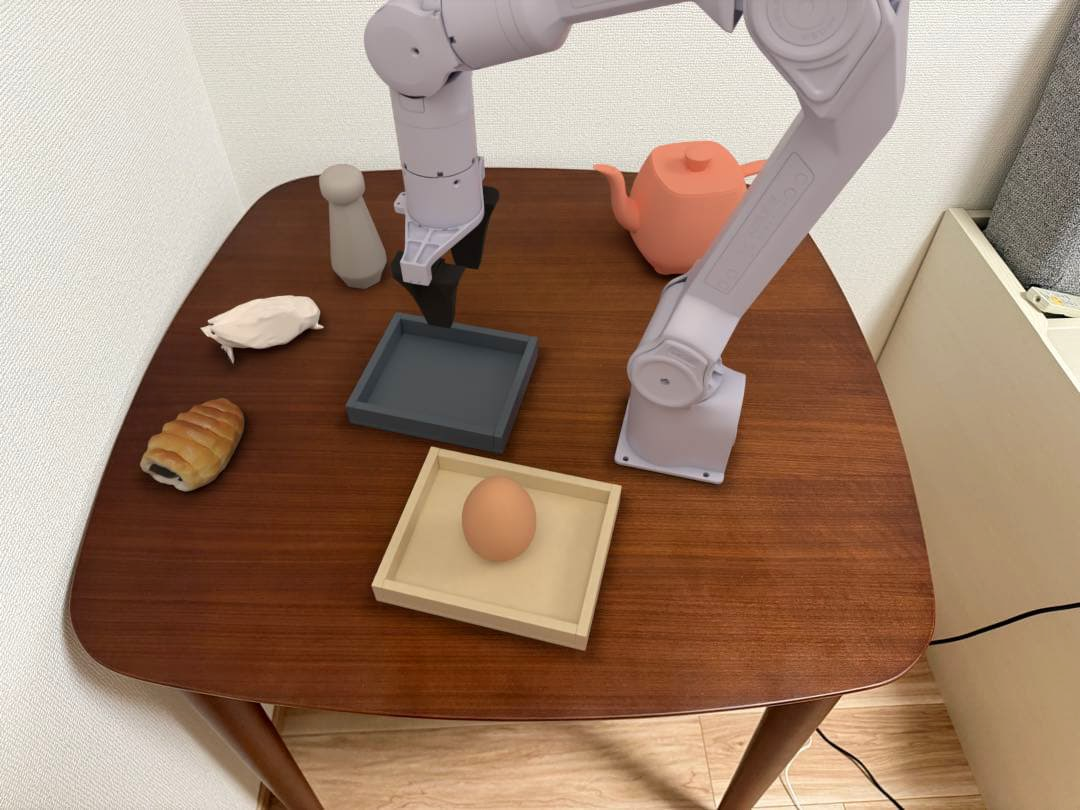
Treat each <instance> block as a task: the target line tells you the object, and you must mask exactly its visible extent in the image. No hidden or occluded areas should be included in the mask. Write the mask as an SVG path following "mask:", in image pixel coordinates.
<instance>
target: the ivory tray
mask: <svg viewBox="0 0 1080 810" xmlns="http://www.w3.org/2000/svg"><path fill="white" fill-rule="evenodd" d="M492 476H503V477H508V478H510V479H512V480H514V481H516V482H518V483H519V484H520V485H521V486H522V487H523V488H524V489H525V490H526V491H527V492H528V494H529V495H530V497H531V499H532V501H533V504H534V507H535V511H536V532H535V535H534V537H533V540H532V542H531V544H530V545H529V547H528V548H527V549H526V550H525V551H524V552H523V553H522V554H521V555H520V556H518V557H516V558H514V559H512V560H508V561H504V562H495V561H489V560H487V559H484V558H482V557H481V556H480V555H478V554H477V553H475V552H474V551H473V549H472V548H471V547H470V546H469V544H468V543H467V541H466V538H465V536H464V533H463V528H462V510H463V506H464V503H465V501H466V498H467V496H468V495H469V493H470V492H471V490H472V489H473V488H474V487H475V486H476V485H477V484H478V483H480V482H481V481H482V480H484V479H486V478H489V477H492ZM622 487H623V486H622V485H619V484H615V483H609V482H606V481H605V482H604V481H599V480H595V479H590V478H585V477H581V476H575V475H571V474H565V473H561V472H556V471H551V470H547V469H543V468H542V469H541V468H537V467H532V466H527V465H522V464H517V463H513V462H507V461H502V460H498V459H493V458H488V457H483V456H478V455H473V454H469V453H464V452H460V451H455V450H451V449H450V450H449V449H445V448H440V447H436V446H430V448H429V450H428V452H427V455H426V458H425V460H424V462H423V465H422V467H421V469H420V471H419V474H418V476H417V478H416V481H415V482H414V485H413V488H412V489H411V490H412V491H411V493H410V495H409V497H408V499H407V501H406V504H405V505H404V509H403V511H402V513H401V515H400V517H399V520H398V523H397V525H396V527H395V529H394V532H393V534H392V536H391V538H390V541H389V543H388V546H387V548H386V549H385V553H384V554H383V557H382V559H381V562H380V565H379V566H378V569H377V572H376V573H375V576H374V578H373V581H372V583H371V585H370V586H371V589H372V591H373V594H374V598H375V601H377V602H381V603H385V604H389V605H394V606H396V607H397V606H398V607H402V608H406V609H409V610H414V611H417V612H423V613H427V614H431V615H435V616H439V617H443V618H447V619H451V620H456V621H459V622H463V623H467V624H472V625H475V626H476V625H477V626H480V627H485V628H487V629H488V628H489V629H493V630H496V631H500V632H505V633H510V634H514V635H517V636H522V637H525V638H530V639H533V640H538V641H542V642H546V643H551V644H554V645H559V646H563V647H567V648H571V649H575V650H580V651H583V652H584V651H586V649H587V645H588V641H589V636H590V632H591V628H592V624H593V620H594V615H595V611H596V606H597V603H598V597H599V593H600V589H601V585H602V580H603V576H604V572H605V567H606V563H607V558H608V554H609V552H610V551H609V550H610V546H611V542H612V537H613V533H614V529H615V525H616V524H615V523H616V520H617V515H618V512H619V511H618V510H619V507H620V503H621V496H622V495H621V494H622Z"/></svg>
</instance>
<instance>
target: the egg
mask: <svg viewBox="0 0 1080 810" xmlns="http://www.w3.org/2000/svg"><path fill="white" fill-rule="evenodd" d="M462 528H463V533H464V536H465V538H466V541H467V543H468V544H469V546H470V547H471V548H472V549H473V551H474V552H475V553H477V554H478V555H480V556H481V557H482V558H484V559H487V560H489V561H495V562H504V561H508V560H512V559H514V558H516V557H518V556H520V555H521V554H522V553H523V552H524V551H525V550H526V549H527V548H528V547H529V545H530V544H531V542H532V540H533V537H534V535H535V532H536V511H535V507H534V504H533V501H532V499H531V497H530V495H529V494H528V492H527V491H526V490H525V489H524V488H523V487H522V486H521V485H520V484H519V483H518V482H516V481H514V480H512V479H510V478H508V477H503V476H492V477H489V478H486V479H484V480H482V481H481V482H480V483H478V484H477V485H476V486H475V487H474V488H473V489H472V490H471V492H470V493H469V495H468V496H467V498H466V501H465V503H464V506H463V510H462Z"/></svg>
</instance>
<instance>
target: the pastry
mask: <svg viewBox="0 0 1080 810" xmlns="http://www.w3.org/2000/svg"><path fill="white" fill-rule="evenodd" d="M245 420H246V419H245V416H244V412H243V411H242V409H240V407H239V406H238V405H237V404H235V403H233V402H231V401H230V400H229V399H228V398H225V397H220V398H217V399H211V400H208V401H205V402H204V403H201V404H196V405H193V406H192V407H191V409H190V410H189V411H187V412H180V413H179V414H178V415H177V417H176V418H175V419H174V420H171V421H169V422H166V423H164V424H163V426H162V428H161V429H162V431H161V432H160V433H158V434H157V433H156V434H154V435H152V436H151V437H150V439H149V440H148V442H147V449H146V451H145V452H144V453H143V455H142V457H141V460H140V463H139V466H140V468H141V471H143V472H144V473H146V474H149V475H150V476H151V477H152V478H153V479H154V480H155V481H157V482H159V483H161V484H166V485H171V486H172V485H173V486H174V488H175V489H177V490H179V491H183V492H187V493H188V492H191V491H194V490H197V489H199V488H202V487H205V486H207V485H208V484H210V483H212V482H213V481H215V480H216V479H217V478H218V476H219V475H220V474H221V472H222V471H223V470H225V469H226V467H227V466H228V464H229V462H230V461H231V458H232V456H233V455H234V454H235V451H236V449H237V447H238V445H239V443H240V441H241V439H242V436H243V433H244V431H245V422H246V421H245Z"/></svg>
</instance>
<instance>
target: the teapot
mask: <svg viewBox="0 0 1080 810" xmlns="http://www.w3.org/2000/svg"><path fill="white" fill-rule="evenodd" d="M767 159H768V158H766V159H765V158H764V159H759V160H758V159H757V160H755V161H750V162H746V163H743V164H739V162H738V161H737V159H736V158H735V156H734V155H733V154H732V153H731V152H730V151H729V150H728V149H727V148H726V147H725V146H724V145H722V144H720V143H719V142H716V141H713V140H691V141H689V140H688V141H681V142H671V143H666V144H662V145H658V146H656V147H654V148H653V149H652V150H651V151H650V153H649V154H648V155H647V157H646V159H645V160H644V162H643V164H642V166H641V167H640V168H639V171H638V173H637V174H636V176H635V179H634V181H633V184H632V187H631V190H630V194H629V196H628V194H627V190H626V182H625V177H624V175H623V173H622V172H621V170H620V169H618V168H617V167H615V166H613V165H610V164H605V163H604V164H603V163H596V164H593V165H592V168H593V169H594V170H595V171H597V172H599V174H602V176H604V177H605V178H606V179H607V181H608V183H609V188H610V200H611V201H610V202H611V208H612V212H613V215H614V217H615V219H616V221H617V222H618V224H619V225H620V226H622V227H623V228H624V229H625V230H627V231H629V234H630V236H631V238H632V240H633V242H634V244H635V246H636V247H637V249H638V250H639V252H640V253H641V255H642V257H644V258H645V260H646V261H647V262H648V264H650V265H651V266H652V267H653V269H654V271H655V272H656V273H658V274H660V275H663V276H669V275H672V274H673V275H677V274H678V275H684V274H685V273H687V272H688V271H689V270H690V269H691V268H692V266H693V265H694V263H695V262H696V260H697V259H702V257H703V256H704V254H705V253H706V251H707V250H708V248H709V247H710V245H711V244H712V242H713V240H714V239H715V237H716V236H717V234H718V233H719V231H720V230H721V228H722V227H723V225H724V224H725V222H726V221H727V219H728V218H729V216H730V215H731V213H732V212H733V210H734V209H735V207H736V206H737V204H738V203H739V201H740V200H741V198H742V197H743V195H744V194H745V192H746V191H747V189H748V187H747V182H746V179H745V178H748V177H751V176H757V174H758V173H759V171H760V170H761V168H762V167H763V165H764V164H765V162H766V161H767Z"/></svg>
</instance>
